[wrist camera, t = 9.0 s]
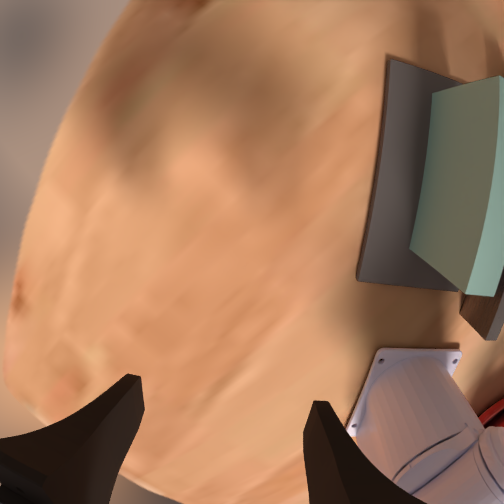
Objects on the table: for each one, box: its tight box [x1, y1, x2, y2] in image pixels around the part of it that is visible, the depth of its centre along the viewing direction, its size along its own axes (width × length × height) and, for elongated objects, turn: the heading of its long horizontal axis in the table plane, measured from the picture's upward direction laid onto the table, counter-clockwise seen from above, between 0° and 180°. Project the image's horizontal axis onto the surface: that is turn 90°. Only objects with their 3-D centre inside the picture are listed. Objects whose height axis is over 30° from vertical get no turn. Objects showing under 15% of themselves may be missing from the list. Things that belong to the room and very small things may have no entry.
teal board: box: [409, 75, 504, 297], centre depth 14 cm, size 2×10×7 cm, turn 173°
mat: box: [356, 59, 463, 292], centre depth 18 cm, size 14×8×1 cm, turn 173°
